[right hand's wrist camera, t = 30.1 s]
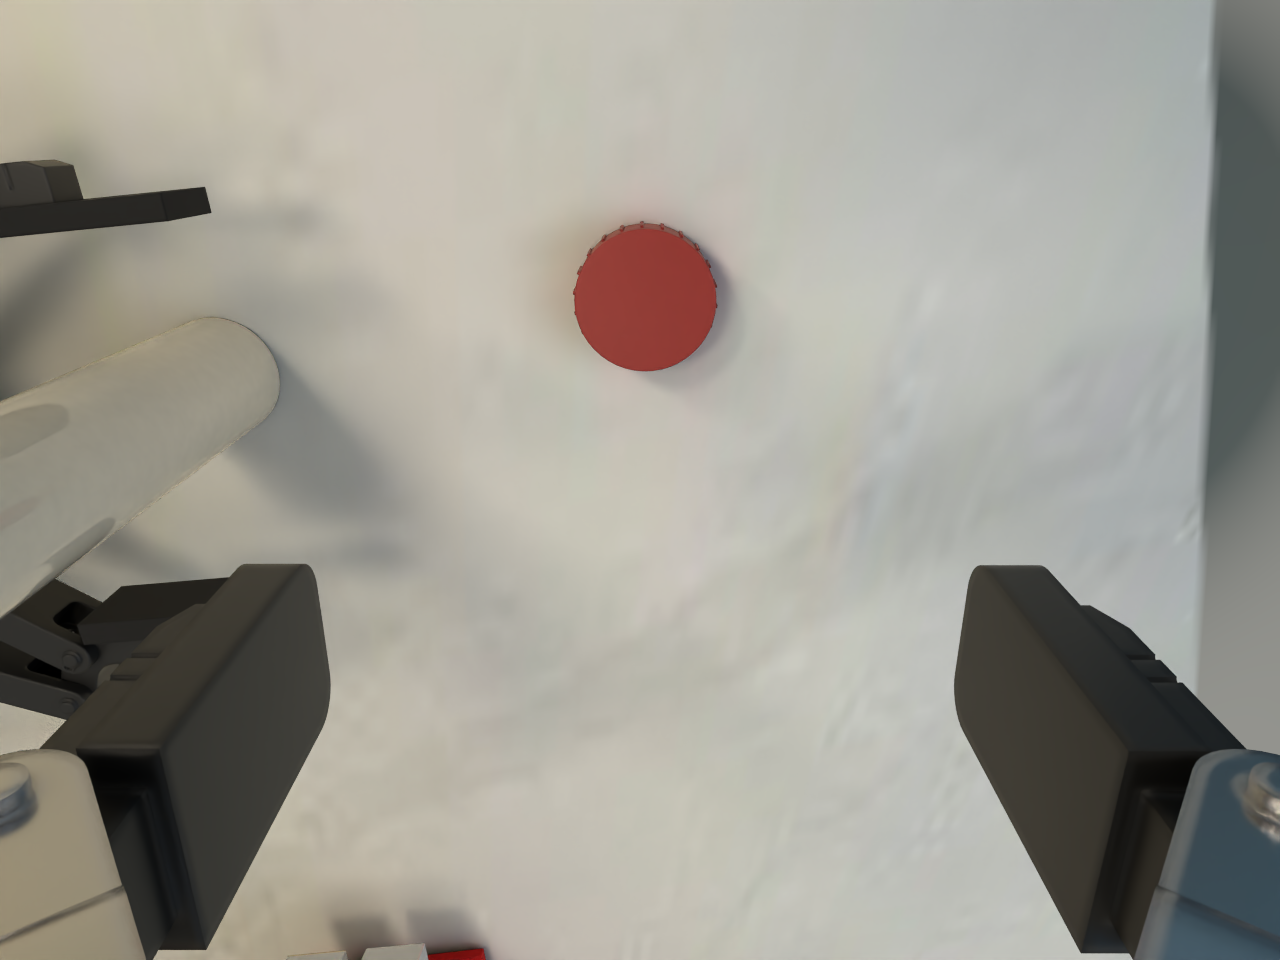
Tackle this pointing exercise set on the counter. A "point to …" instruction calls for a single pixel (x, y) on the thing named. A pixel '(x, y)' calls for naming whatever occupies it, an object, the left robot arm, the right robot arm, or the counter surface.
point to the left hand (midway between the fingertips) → (244, 417)
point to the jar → (119, 442)
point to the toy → (396, 954)
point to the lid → (645, 297)
